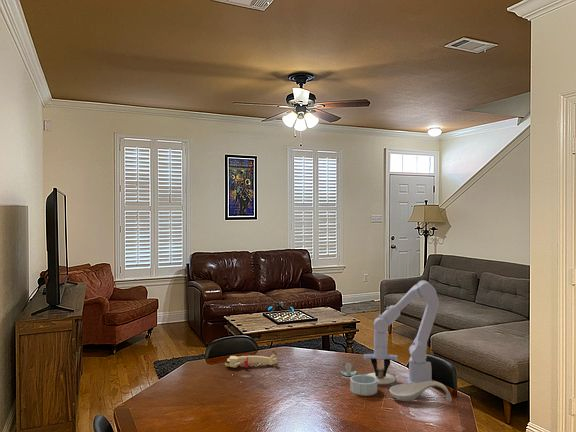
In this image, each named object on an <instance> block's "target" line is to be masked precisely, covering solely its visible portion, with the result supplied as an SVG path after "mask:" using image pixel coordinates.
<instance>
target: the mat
mask: <svg viewBox="0 0 576 432" xmlns="http://www.w3.org/2000/svg"><path fill="white" fill-rule="evenodd" d="M370 373H371V372H363V375H367V374H370ZM389 374H390V375H393V376H394V377H395V379H396V380H395V382H393V383H391V384H377V386H395V385H399V382H398V380H397V376H396V374H395V373H389Z"/></svg>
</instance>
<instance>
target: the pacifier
mask: <svg viewBox="0 0 576 432" xmlns="http://www.w3.org/2000/svg"><path fill="white" fill-rule="evenodd" d="M352 365H353V364H352V363H351V362H346V363H345V365H344V367H345V371H343V370H340V373H341V378H344V379H350V377H352V376H354V375H357V370H354V371H352V369H353V368H352V367H353V366H352Z"/></svg>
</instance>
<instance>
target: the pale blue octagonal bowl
mask: <svg viewBox="0 0 576 432" xmlns="http://www.w3.org/2000/svg"><path fill="white" fill-rule="evenodd" d="M349 377H350V378H349V389H350V390H349V391H350V392H351V393H352V394H354V395H359V396H373V395H375V394H377V393H378V385H377V378H375V377H373V376H370V375H364V374H355V375H354V376H349Z"/></svg>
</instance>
